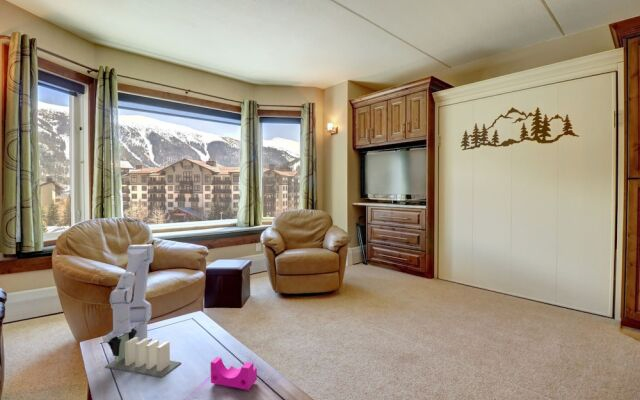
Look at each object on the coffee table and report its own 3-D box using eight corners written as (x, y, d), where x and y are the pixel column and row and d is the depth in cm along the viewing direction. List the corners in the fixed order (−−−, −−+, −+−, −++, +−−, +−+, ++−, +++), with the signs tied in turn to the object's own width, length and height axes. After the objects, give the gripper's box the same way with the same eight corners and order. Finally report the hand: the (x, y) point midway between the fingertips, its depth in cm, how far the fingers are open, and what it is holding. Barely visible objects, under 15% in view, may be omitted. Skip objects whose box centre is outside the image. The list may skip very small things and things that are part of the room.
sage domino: (129, 355, 130) (128, 333, 130) (118, 361, 125) (118, 338, 125) (125, 354, 131) (125, 333, 130) (115, 361, 126) (114, 338, 126)
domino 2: (135, 367, 123) (135, 343, 123) (145, 360, 128) (145, 338, 128) (138, 367, 123) (138, 344, 123) (148, 361, 127) (148, 338, 127)
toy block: (256, 379, 116) (256, 359, 115) (248, 389, 110) (248, 368, 109) (220, 373, 120) (220, 353, 120) (210, 382, 114) (210, 362, 114)
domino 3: (146, 368, 122) (145, 345, 122) (155, 362, 127) (155, 339, 126) (149, 369, 121) (149, 346, 121) (159, 362, 126) (159, 340, 126)
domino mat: (104, 367, 124) (104, 365, 124) (126, 354, 134) (126, 353, 134) (162, 377, 117) (162, 376, 117) (181, 363, 126) (181, 362, 126)
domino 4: (156, 370, 120) (156, 347, 120) (166, 363, 125) (166, 341, 125) (160, 371, 120) (159, 347, 120) (169, 364, 125) (169, 341, 125)
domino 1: (125, 365, 124) (124, 342, 124) (135, 358, 129) (135, 336, 129) (128, 365, 124) (128, 342, 124) (138, 359, 129) (138, 337, 129)
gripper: (113, 326, 120) (113, 362, 120) (144, 313, 134) (144, 345, 134) (98, 325, 121) (99, 360, 122) (130, 311, 135) (131, 343, 136)
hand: (122, 352), depth 128 cm, fingers closed on sage domino, 5 cm apart
